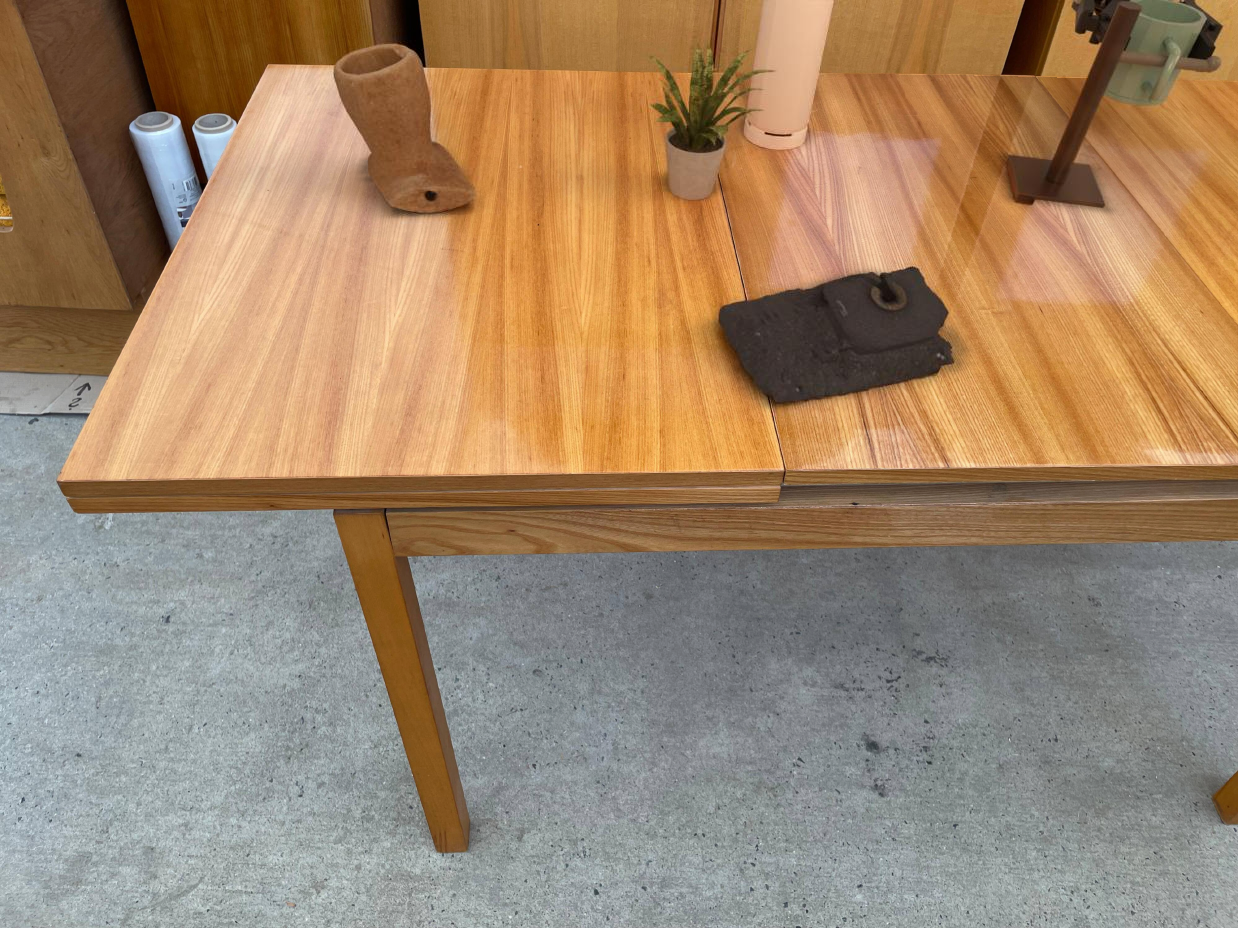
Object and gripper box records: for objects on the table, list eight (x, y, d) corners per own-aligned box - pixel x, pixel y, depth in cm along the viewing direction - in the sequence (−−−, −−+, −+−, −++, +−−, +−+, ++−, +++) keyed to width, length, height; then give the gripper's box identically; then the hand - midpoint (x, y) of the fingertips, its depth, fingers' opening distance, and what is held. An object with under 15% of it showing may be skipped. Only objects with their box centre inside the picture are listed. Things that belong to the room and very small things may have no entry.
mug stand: (1139, 180, 112) (1230, 1, 97) (1158, 221, 105) (1259, 35, 90) (1005, 163, 113) (1073, -16, 98) (1015, 202, 107) (1090, 16, 91)
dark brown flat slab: (697, 314, 88) (702, 274, 85) (885, 278, 94) (897, 239, 91) (766, 414, 78) (775, 373, 75) (972, 366, 84) (989, 326, 81)
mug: (1087, 72, 109) (1121, -6, 102) (1157, 81, 108) (1195, 2, 102) (1107, 116, 100) (1145, 33, 94) (1182, 125, 100) (1226, 42, 93)
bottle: (730, 132, 116) (766, -117, 96) (772, 115, 120) (814, -127, 100) (776, 156, 112) (823, -98, 92) (818, 138, 116) (871, -109, 96)
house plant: (782, 210, 103) (810, 68, 91) (679, 235, 98) (695, 89, 86) (718, 155, 111) (736, 19, 100) (620, 176, 107) (627, 35, 95)
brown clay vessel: (345, 166, 106) (320, 35, 95) (442, 151, 109) (429, 23, 98) (373, 231, 96) (349, 94, 85) (479, 212, 100) (468, 78, 89)
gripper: (1191, 26, 115) (1244, 100, 100) (1026, 7, 117) (1052, 77, 102) (1222, -37, 110) (1283, 30, 94) (1048, -56, 112) (1080, 8, 96)
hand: (1163, 55), depth 98 cm, fingers closed on mug, 8 cm apart
